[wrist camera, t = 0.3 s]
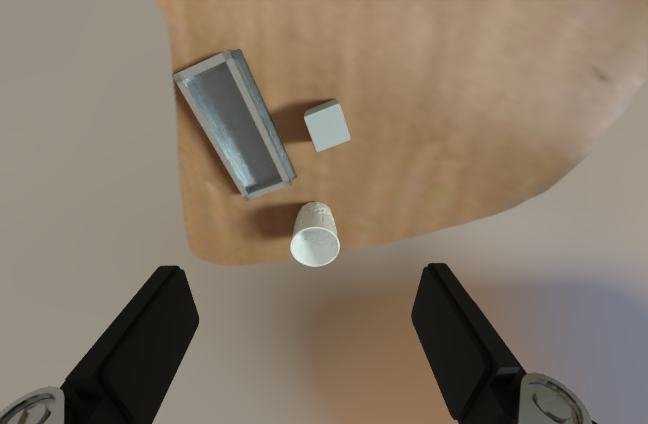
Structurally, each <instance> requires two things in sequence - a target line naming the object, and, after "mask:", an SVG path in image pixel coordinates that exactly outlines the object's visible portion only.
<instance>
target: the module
mask: <svg viewBox="0 0 648 424" xmlns="http://www.w3.org/2000/svg"><path fill="white" fill-rule="evenodd" d="M304 119H305V120H304V121H305V124H306V126H307V129H308V132H309V134H310V137H311V139H312V142H313V145H314V147H315V148H316V150H317V152H319V151H322V150H325V149H327V148H330V147H333V146H335V145H338V144H341V143H343V142H346V141H349V140H351V139H350V136H349V132H348V129H347V126H346V122H345V119H344V116H343V113H342V109H341V106H340V103H339V102H338V101H337V100H336V99H333V100H331V101H328V102H326V103H323V104H321V105H318V106H316V107H313V108H311V109H308V110H306V111H305V114H304Z"/></svg>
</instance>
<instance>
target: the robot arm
mask: <svg viewBox="0 0 648 424" xmlns="http://www.w3.org/2000/svg"><path fill="white" fill-rule="evenodd" d="M411 317H412V322H413V325H414V327H415V329H416V332H417V334H418V337H419V339H420V342H421V344H422V347H423V349H424V352H425V354H426V356H427V359H428V361H429V363H430V366H431V369H432V371H433V373H434V376H435V378H436V381H437V383H438V386H439V388H440V391H441V393H442V395H443V398H444V400H445V403H446V405H447V408H448V410H449V412H450V415H451V416H452V418H453V419H454V420H458V423H459V424H597V423H595V422H594V421H592V420H591V418H590V415H589V412H588V411H587V409H586V408H585V406H584V404H583V403H582V402H581V401H580V399H579V398H578V397H577V396H576V395H575V394H574V393H573V392H572V391H571V390H569V389H568V388H567V387H566V386H565V385H563V384H562V383H560V382H558V381H557V380H555V379H553V378H551V377H549V376H546V375H544V374H539V373H528V374H527V373H526V372H525V370H524V369H523V367H522V366H521V365H520V363H519V362H518V361H517V359H516V358H515V357H514V355H513V354H512V353H511V351H510V350H509V348H508V347H507V346H506V344H505V343H504V342H503V340H502V339H501V337H500V336H499V335H498V333H497V332H496V330H495V329H494V328H493V326H492V325H491V324H490V322H489V321H488V319H487V318H486V317H485V315H484V314H483V313H482V311H481V310H480V309H479V307H478V306H477V304H476V303H475V302H474V301H473V300H472V299H471V298H470V296H469V295H468V293H467V292H466V291H465V289H464V288H463V286H462V285H461V284H460V282H459V281H458V279H457V278H456V277H455V275H454V274H453V273H452V271H451V270H450V268H449V267H448V266H447V265H446V264H444V263H430V264H428V266H427V267H425V268H424V269H423V273H422V276H421V280H420V284H419V287H418V291H417V295H416V299H415V302H414V306H413V310H412V315H411ZM198 324H199V316H198V312H197V309H196V306H195V303H194V300H193V297H192V294H191V290H190V287H189V284H188V281H187V278H186V275H185V272H184V270H182V269H180V267H179V266H160V267H158V269H157V270H156V271H155V272H154V273H153V274H152V276H151V277H150V278H149V279H148V280H147V282H146V283H145V284H144V285H143V286H142V288H141V289H140V290H139V291H138V293H137V294H136V295H135V296H134V297H133V298H132V300H131V301H130V302H129V303H128V304H127V306H126V307H125V308H124V309H123V310H122V312H121V313H120V314H119V315H118V316H117V318H116V319H115V320H114V321H113V322H112V324H111V325H110V326H109V327H108V328H107V330H106V331H105V332H104V333H103V334H102V336H101V337H100V338H99V339H98V340H97V342H96V343H95V344H94V345H93V346H92V348H91V349H90V350H89V351H88V353H87V354H86V355H85V356H84V357H83V358H82V360H81V361H80V362H79V363H78V364H77V366H76V367H75V368H74V369H73V371H72V372H71V373H70V374H69V375H68V376H67V378H66V379H65V380H66V381H65V382H64V383H63V384H62V386H61V387H60V388H58V387H45V388H41V389H38V390H35V391H33V392H31V393H28V394H26V395H25V396H23V397H21V398H19V399H18V400H16V401H14V402H13V403H12V404H10V405H9V406H7V407H6V408H5V409H4V410H2V411H1V412H0V424H152V422H153V420H154V418H155V416H156V414H157V412H158V410H159V408H160V406H161V403H162V401H163V399H164V397H165V395H166V393H167V391H168V389H169V386H170V384H171V382H172V380H173V378H174V376H175V374H176V372H177V370H178V367H179V365H180V363H181V361H182V359H183V357H184V355H185V353H186V350H187V348H188V346H189V344H190V342H191V340H192V338H193V336H194V333H195V331H196V329H197V327H198Z"/></svg>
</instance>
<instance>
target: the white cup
mask: <svg viewBox="0 0 648 424" xmlns="http://www.w3.org/2000/svg"><path fill="white" fill-rule="evenodd" d="M339 248H340V245H339V240H338V235H337V231H336V227H335V223H334V219H333V216H332V213H331V210H330V208H329V207H327V206H326V205H325V204H324V203H320V202H317V201H316V202H308V203H307V204H305V205H303V206H302V207H301V209H300V210H299V212H298V216H297V219H296V222H295V226H294V230H293V235H292V240H291V244H290V249H291V253H292V255H293V256H294V258H295V259H296V260H297V261H299V262H300V263H302V264H304V265H307V266H322V265H325V264H328V263H330V262H331V261H332V260H334V259H335V257H336V256H337V254H338V252H339Z"/></svg>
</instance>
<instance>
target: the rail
mask: <svg viewBox="0 0 648 424" xmlns="http://www.w3.org/2000/svg"><path fill="white" fill-rule="evenodd" d="M172 76H173V78H174V80H175V82H176V83H177V85H178V87H179V88H180V90H181V92H182V94H183V95H184V97H185V99H186V100H187V102H188V104H189V105H190V107H191V109H192V111H193V112H194V114H195V116H196V117H197V119H198V121H199V123H200V124H201V126H202V128H203V129H204V131H205V133H206V134H207V136H208V138H209V140H210V141H211V143H212V145H213V146H214V148H215V150H216V152H217V153H218V155H219V157H220V158H221V160H222V162H223V164H224V165H225V167H226V169H227V170H228V172H229V174H230V175H231V177H232V179H233V181H234V182H235V184H236V186H237V187H238V189H239V191H240V193H241V194H242V196H243V198H244V199H245V201H248V200H250V199H253V198H256V197H259V196H262V195H264V194H267V193H270V192H273V191H275V190H278V189H281V188H284V187H287V186H289V185H291V184H292V179H295V178H297V175H296V173H295V171H294V168H293V166H292V164H291V162H290V159H289V157H288V155H287V153H286V150H285V148H284V146H283V143H282V141H281V139H280V137H279V134H278V132H277V130H276V128H275V125H274V123H273V121H272V119H271V116H270V114H269V112H268V110H267V107H266V105H265V103H264V101H263V98H262V96H261V94H260V92H259V89H258V87H257V85H256V83H255V80H254V78H253V76H252V74H251V71H250V69H249V67H248V65H247V62H246V60H245V58H244V56H243V53H242V51H241V50H240V49H238V50H236V51H231V50H227V51H224V52H222V53H220V54H218V55H216V56H213V57H211V58H209V59H207V60H205V61H203V62H200V63H198V64H196V65H194V66H192V67H189V68H187V69H185V70H183V71H181V72H179V73H176V74H174V75H172Z"/></svg>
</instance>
